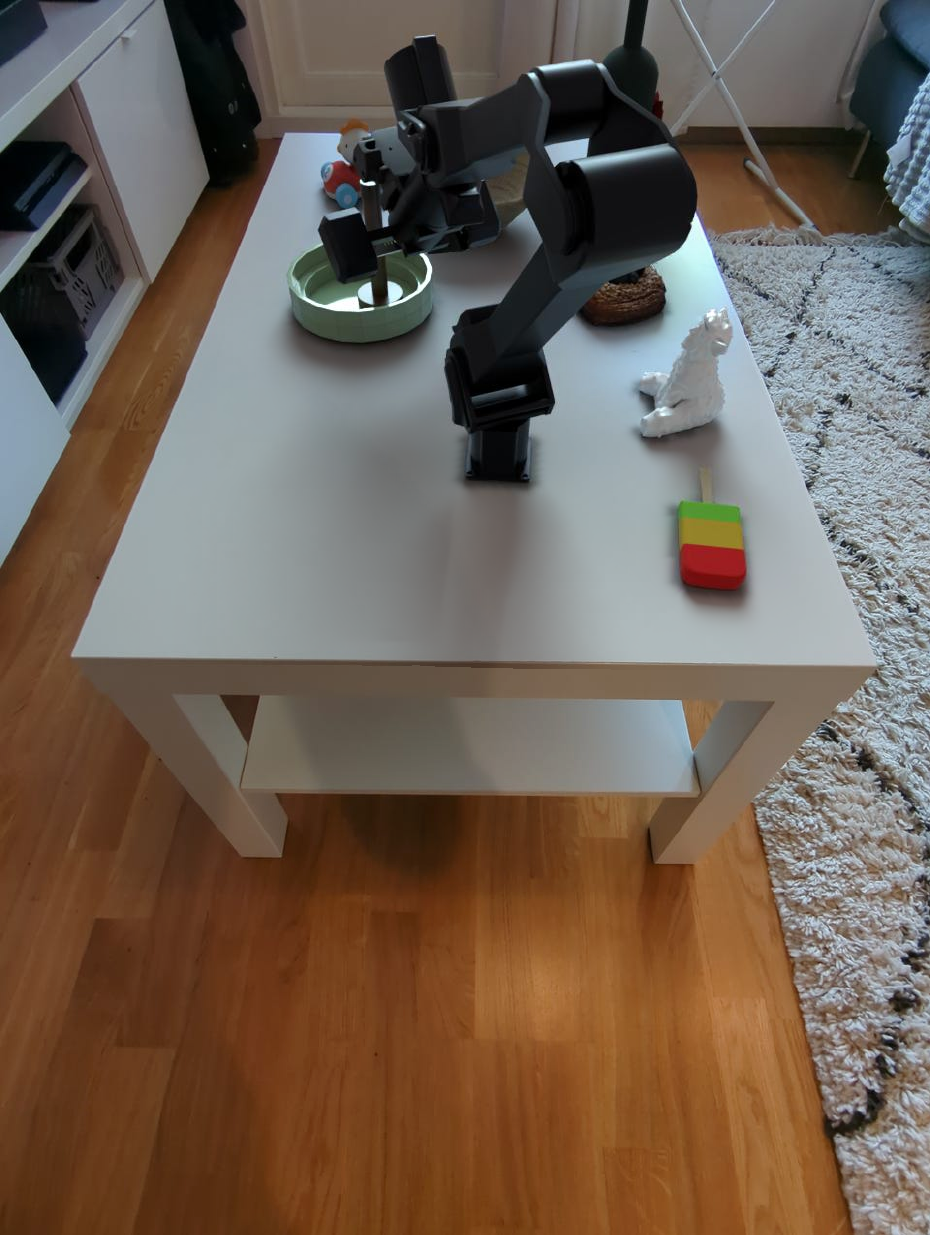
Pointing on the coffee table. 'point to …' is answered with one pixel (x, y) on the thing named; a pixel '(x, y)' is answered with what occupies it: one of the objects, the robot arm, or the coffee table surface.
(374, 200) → the paper towel holder
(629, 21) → the wine bottle
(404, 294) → the green round dish
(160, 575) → the coffee table surface
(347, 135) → the toy car
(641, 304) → the pastry
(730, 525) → the popsicle
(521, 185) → the bowl
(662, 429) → the sitting furry creature
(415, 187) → the robot arm
